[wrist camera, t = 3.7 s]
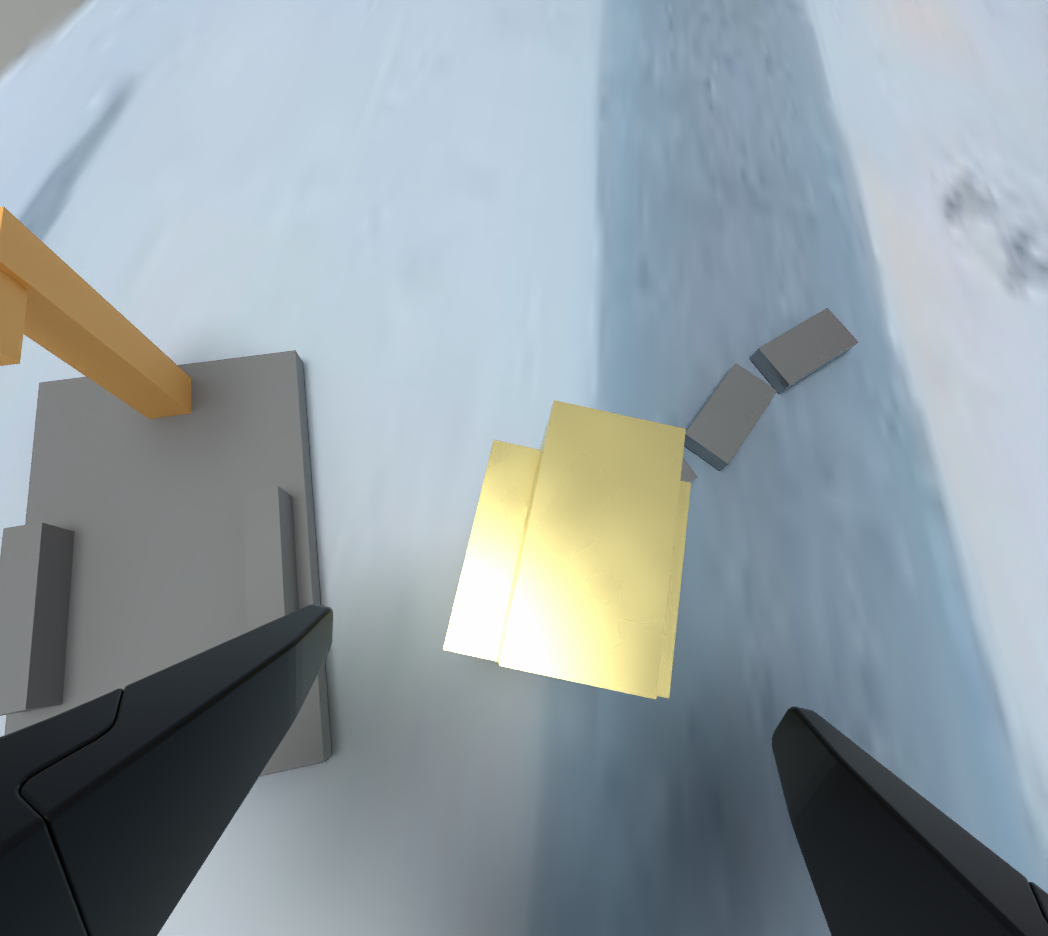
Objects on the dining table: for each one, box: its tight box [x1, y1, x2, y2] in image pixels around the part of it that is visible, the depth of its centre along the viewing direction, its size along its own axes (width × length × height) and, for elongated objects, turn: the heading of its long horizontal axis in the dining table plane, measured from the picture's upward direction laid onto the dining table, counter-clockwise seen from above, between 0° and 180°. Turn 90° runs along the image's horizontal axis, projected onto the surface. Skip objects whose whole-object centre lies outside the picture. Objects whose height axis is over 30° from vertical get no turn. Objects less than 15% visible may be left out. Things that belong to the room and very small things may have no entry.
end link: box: [443, 400, 691, 699], centre depth 15 cm, size 4×4×13 cm
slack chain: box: [680, 308, 858, 483], centre depth 24 cm, size 4×16×1 cm, turn 132°
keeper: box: [0, 207, 332, 777], centre depth 16 cm, size 16×10×10 cm, turn 11°
